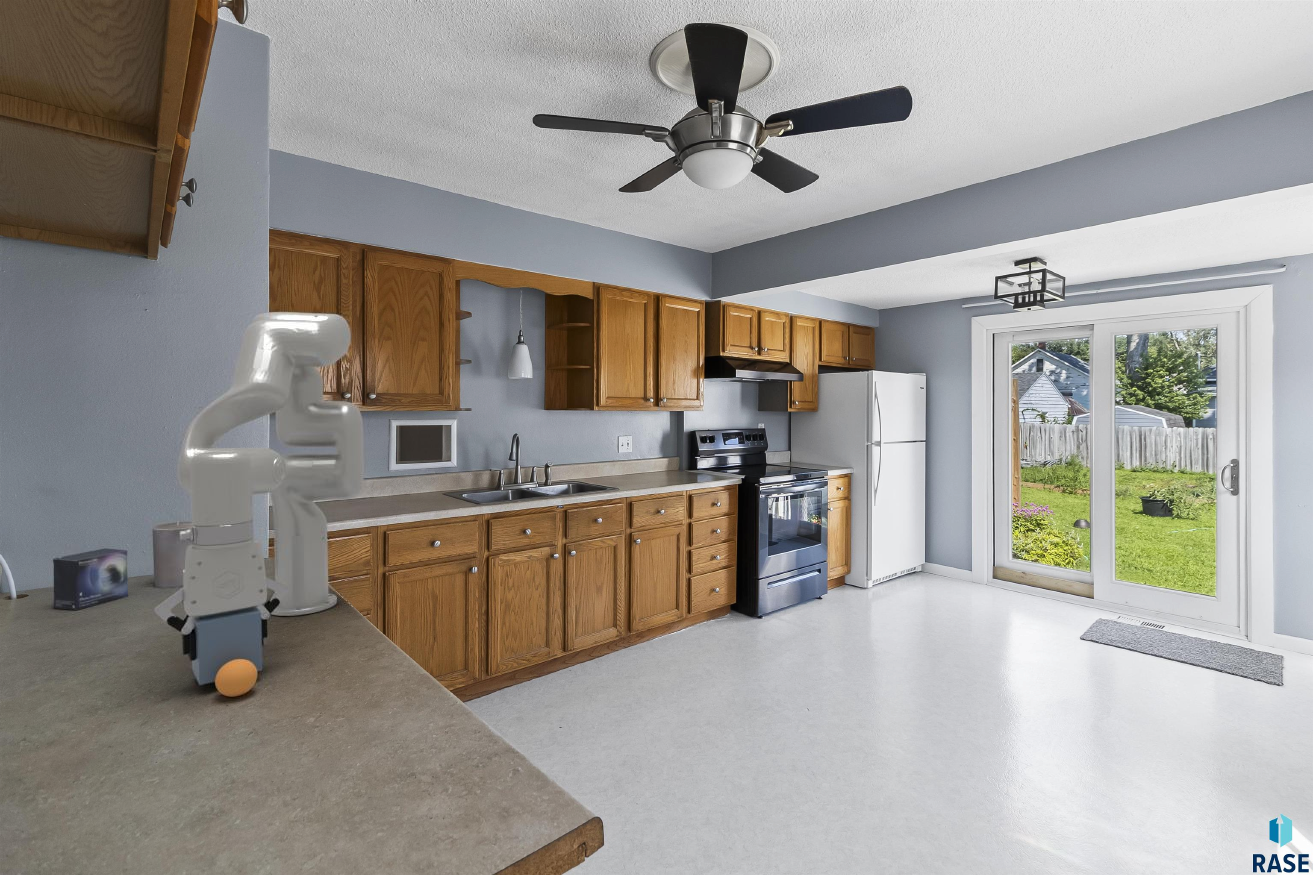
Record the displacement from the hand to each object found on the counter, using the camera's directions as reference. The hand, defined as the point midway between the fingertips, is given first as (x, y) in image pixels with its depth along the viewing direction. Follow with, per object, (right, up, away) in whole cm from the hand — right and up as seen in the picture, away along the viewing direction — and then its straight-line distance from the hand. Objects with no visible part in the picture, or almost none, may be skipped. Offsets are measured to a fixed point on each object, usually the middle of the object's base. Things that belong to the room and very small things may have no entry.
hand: (226, 649), depth 95 cm
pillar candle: (-48, -3, +54) cm, 72 cm away
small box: (-55, -3, +39) cm, 67 cm away
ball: (+5, -2, -5) cm, 7 cm away
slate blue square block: (0, -3, 0) cm, 3 cm away
